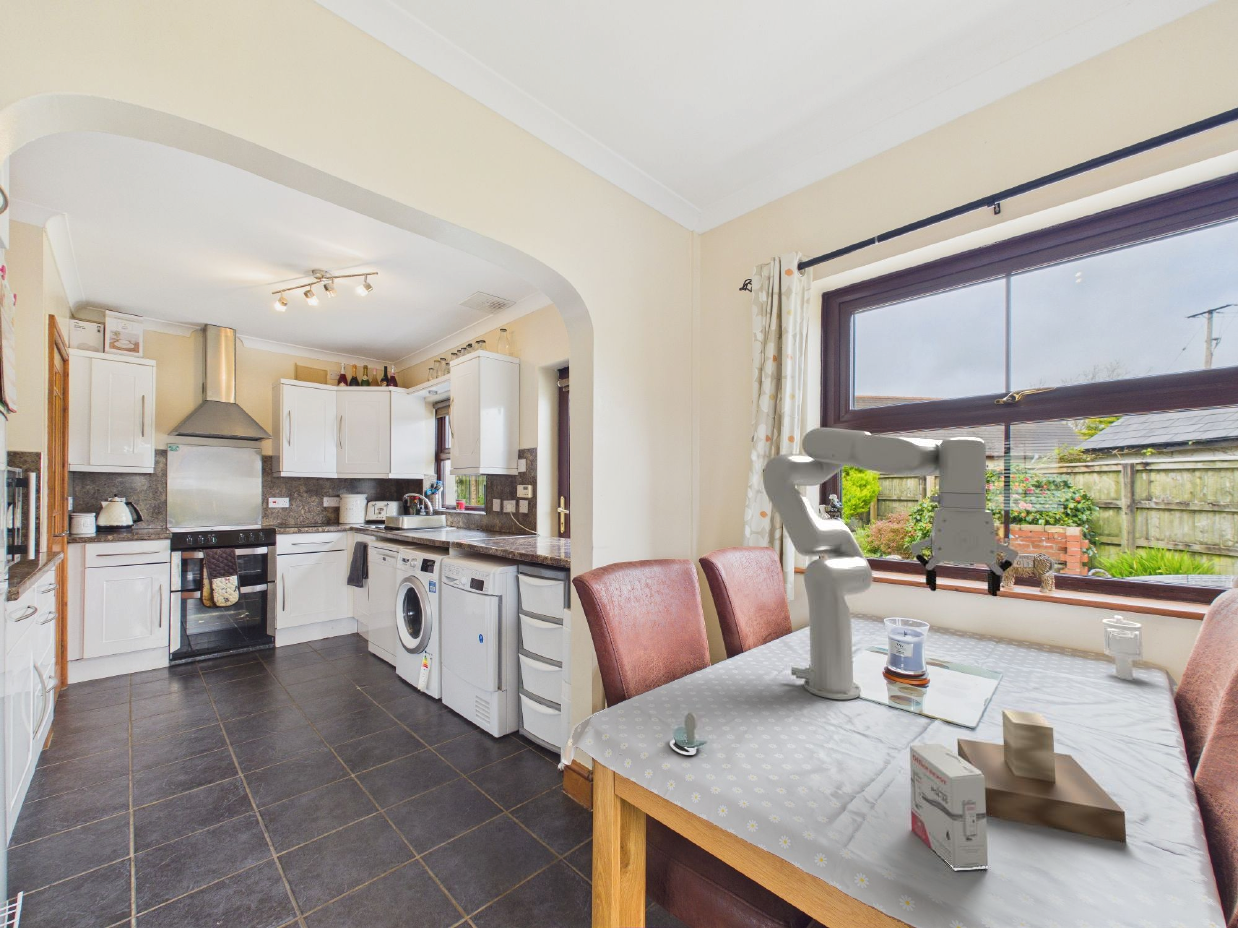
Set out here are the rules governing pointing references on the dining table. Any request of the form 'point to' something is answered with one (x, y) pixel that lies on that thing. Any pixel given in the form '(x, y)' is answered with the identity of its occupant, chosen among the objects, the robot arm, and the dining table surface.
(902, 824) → the dining table surface
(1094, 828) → the walnut base
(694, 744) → the pacifier
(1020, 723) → the birch block
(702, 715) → the dining table surface
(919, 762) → the ink box
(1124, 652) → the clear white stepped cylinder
